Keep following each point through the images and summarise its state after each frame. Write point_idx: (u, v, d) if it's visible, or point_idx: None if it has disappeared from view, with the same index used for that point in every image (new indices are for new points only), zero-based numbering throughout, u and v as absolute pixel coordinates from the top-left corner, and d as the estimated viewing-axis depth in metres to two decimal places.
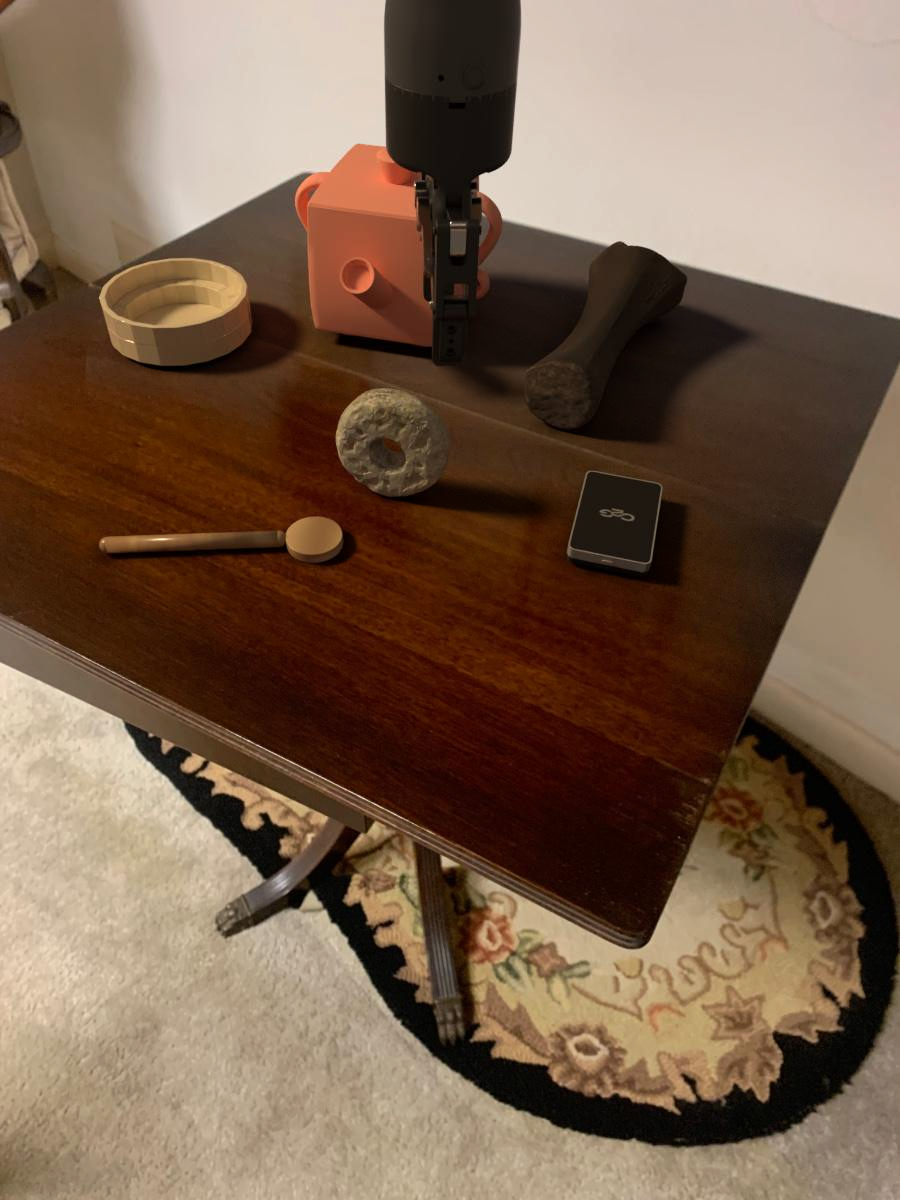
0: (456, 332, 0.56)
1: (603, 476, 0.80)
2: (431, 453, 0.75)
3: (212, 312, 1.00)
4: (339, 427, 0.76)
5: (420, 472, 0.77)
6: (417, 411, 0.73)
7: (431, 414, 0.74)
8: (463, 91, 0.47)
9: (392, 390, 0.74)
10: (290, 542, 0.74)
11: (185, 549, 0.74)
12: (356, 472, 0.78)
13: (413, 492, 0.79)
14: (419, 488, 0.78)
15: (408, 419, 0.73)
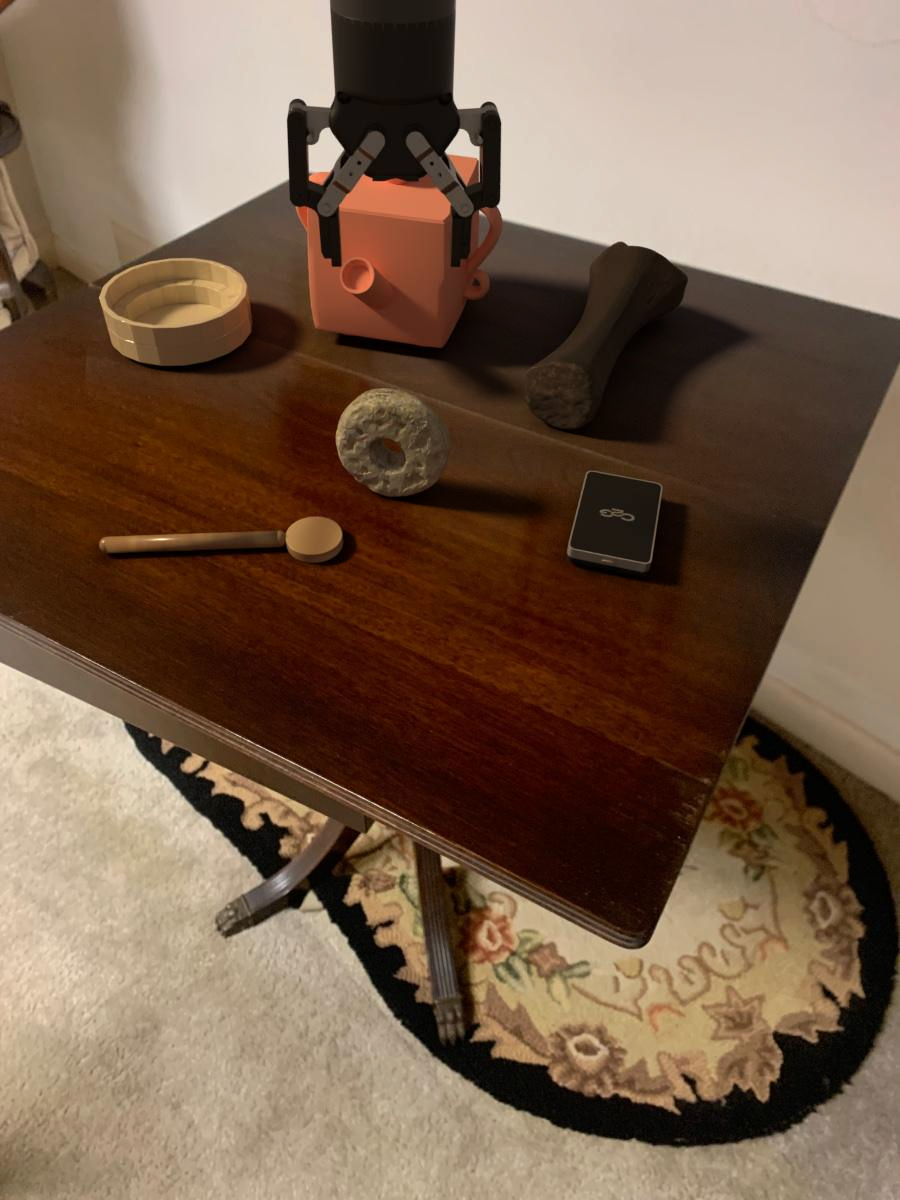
0: None
1: (603, 476, 0.80)
2: (431, 453, 0.75)
3: (212, 312, 1.00)
4: (339, 427, 0.76)
5: (420, 472, 0.77)
6: (417, 411, 0.73)
7: (431, 414, 0.74)
8: None
9: (392, 390, 0.74)
10: (290, 542, 0.74)
11: (185, 549, 0.74)
12: (356, 472, 0.78)
13: (413, 492, 0.79)
14: (419, 488, 0.78)
15: (408, 419, 0.73)
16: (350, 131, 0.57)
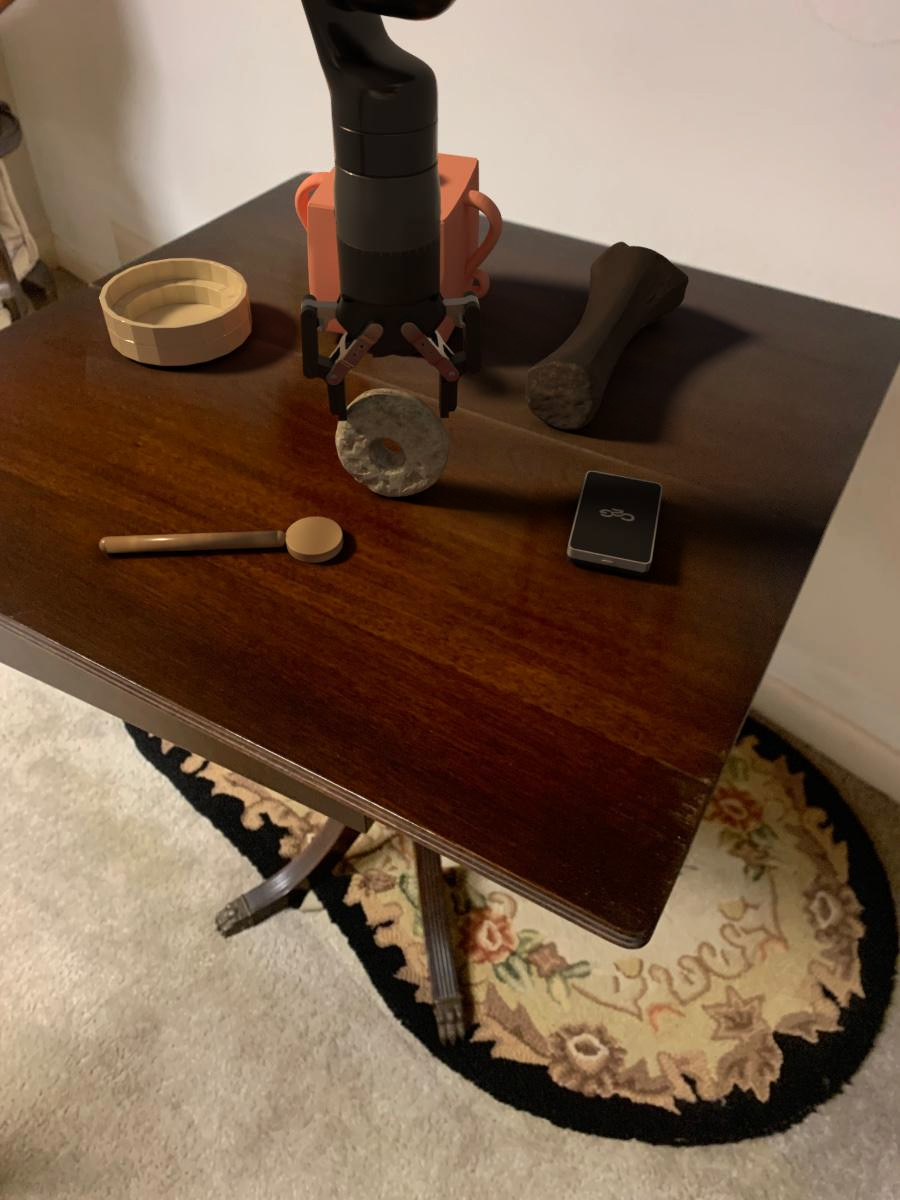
0: None
1: (603, 476, 0.80)
2: (430, 452, 0.75)
3: (212, 312, 1.00)
4: (338, 427, 0.76)
5: (419, 471, 0.77)
6: (416, 411, 0.73)
7: (430, 414, 0.74)
8: None
9: (391, 390, 0.74)
10: (290, 542, 0.74)
11: (185, 549, 0.74)
12: (356, 472, 0.79)
13: (413, 492, 0.79)
14: (419, 488, 0.78)
15: (407, 419, 0.73)
16: (354, 322, 0.67)
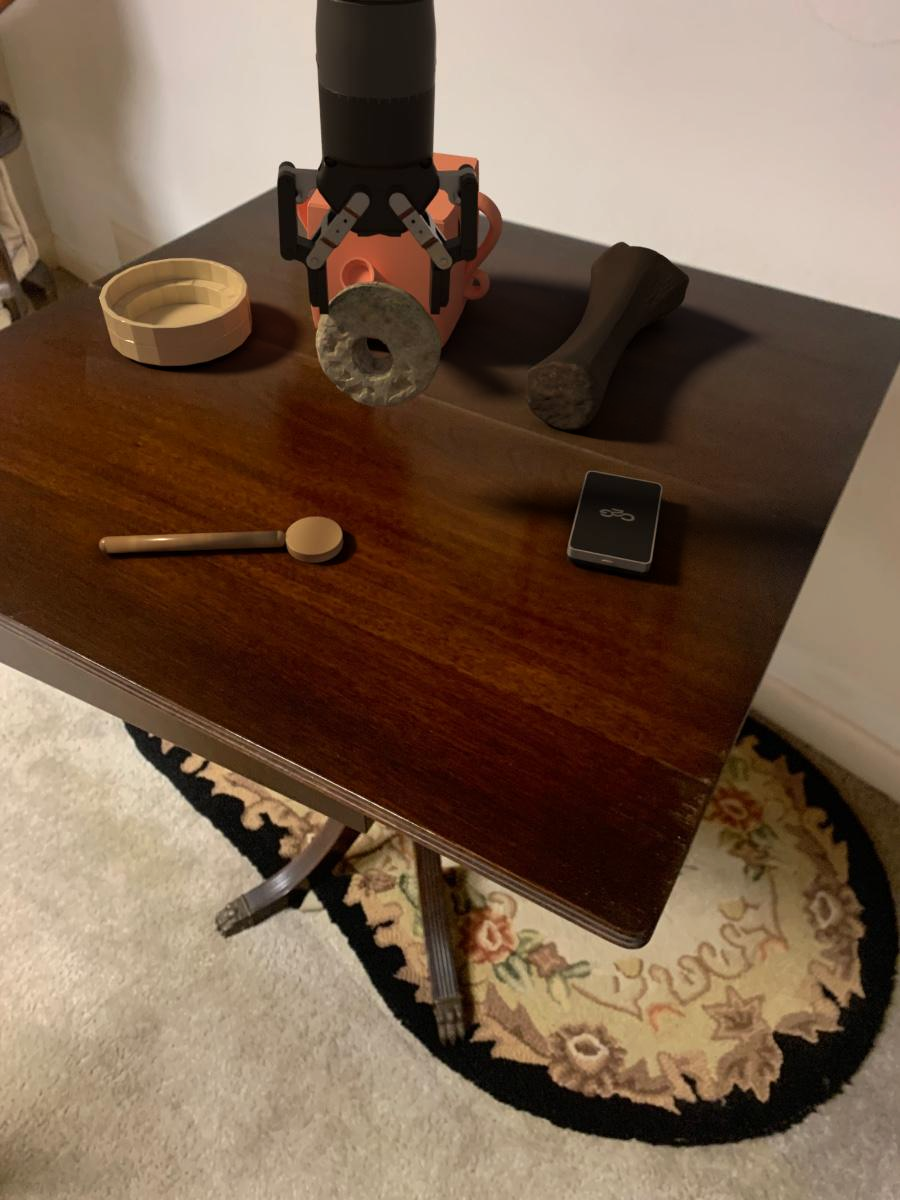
0: None
1: (603, 476, 0.80)
2: (420, 353, 0.68)
3: (212, 312, 1.00)
4: (319, 326, 0.69)
5: (407, 376, 0.70)
6: (404, 304, 0.66)
7: (420, 309, 0.67)
8: None
9: (377, 283, 0.68)
10: (290, 542, 0.74)
11: (185, 549, 0.74)
12: (338, 379, 0.72)
13: (400, 401, 0.72)
14: (407, 396, 0.71)
15: (394, 313, 0.66)
16: (336, 192, 0.60)
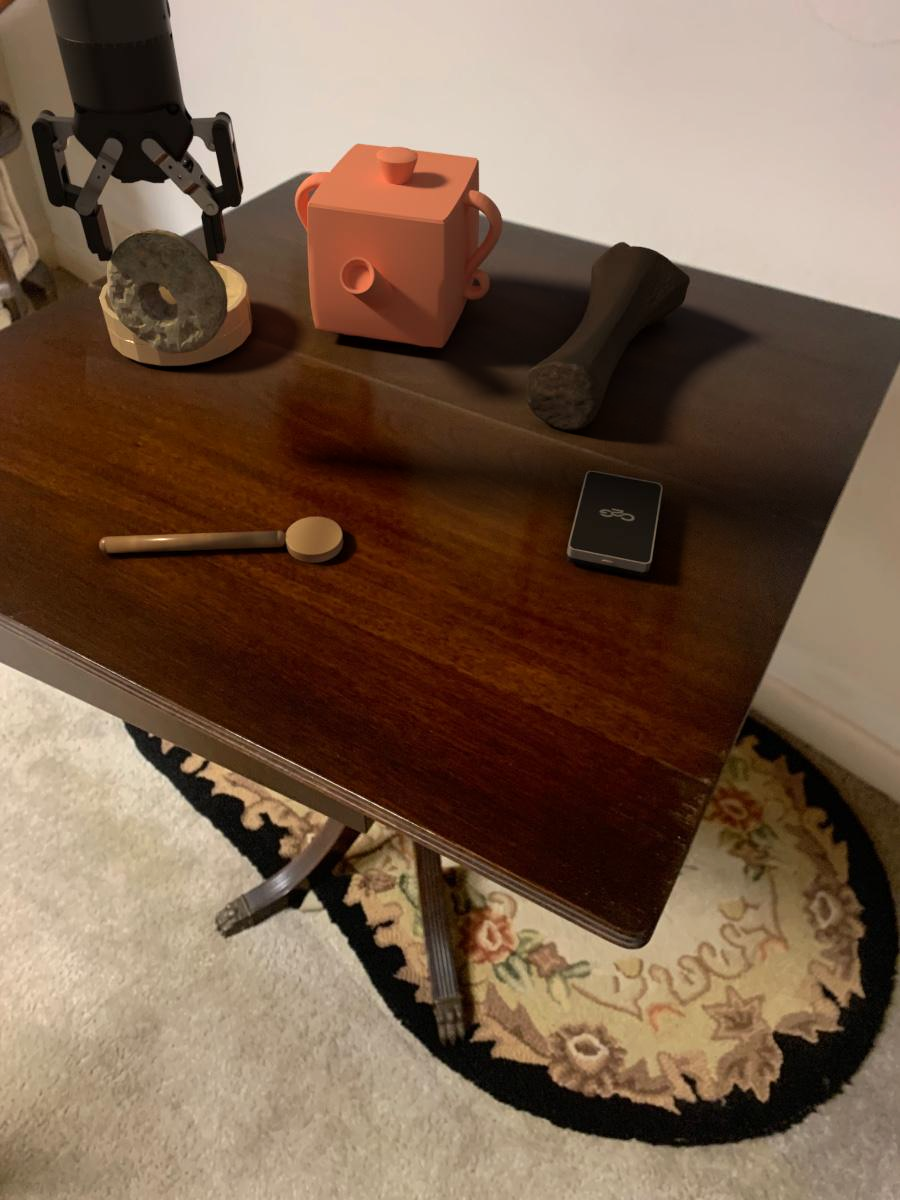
0: (222, 220, 0.70)
1: (603, 476, 0.80)
2: (199, 297, 0.71)
3: None
4: (107, 273, 0.72)
5: (193, 321, 0.73)
6: (179, 249, 0.69)
7: (197, 255, 0.70)
8: None
9: (157, 230, 0.70)
10: (290, 542, 0.74)
11: (185, 549, 0.74)
12: (132, 325, 0.74)
13: (192, 347, 0.75)
14: (196, 341, 0.74)
15: (169, 258, 0.69)
16: (92, 138, 0.63)
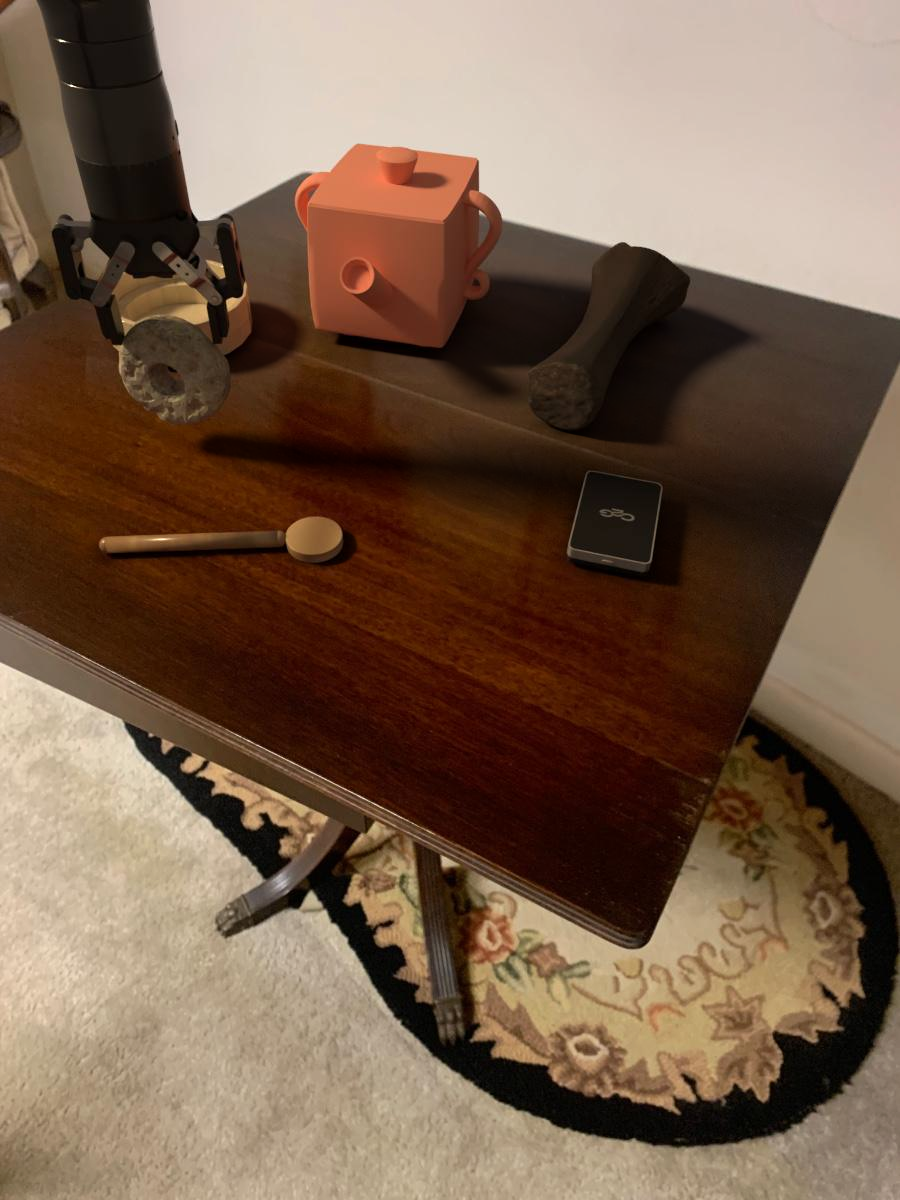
0: (225, 307, 0.75)
1: (603, 476, 0.80)
2: (205, 377, 0.77)
3: None
4: (119, 354, 0.78)
5: (199, 398, 0.78)
6: (186, 335, 0.75)
7: (202, 339, 0.76)
8: (178, 140, 0.65)
9: (165, 316, 0.76)
10: (290, 542, 0.74)
11: (185, 549, 0.74)
12: (142, 400, 0.80)
13: (198, 420, 0.80)
14: (202, 415, 0.80)
15: (177, 343, 0.75)
16: (106, 241, 0.69)
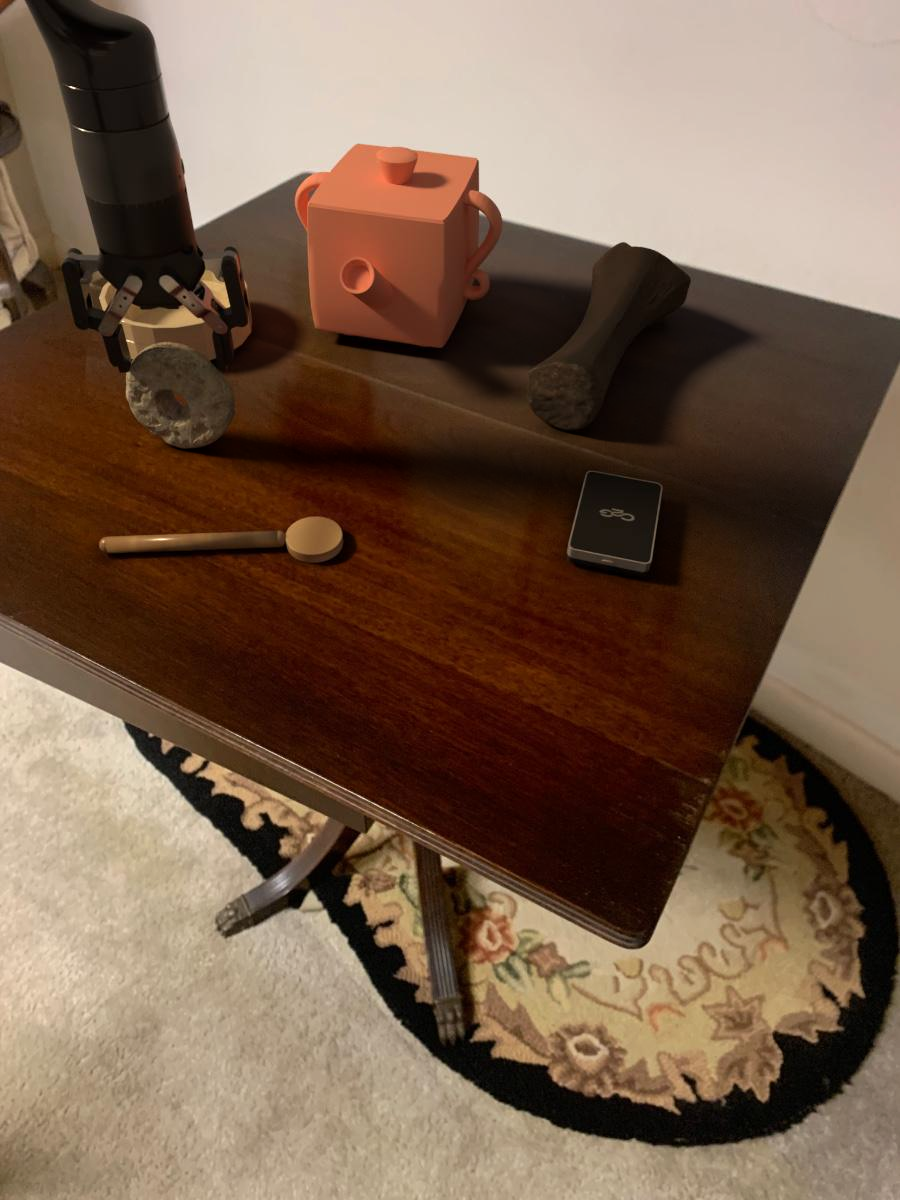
0: (230, 335, 0.77)
1: (603, 476, 0.80)
2: (210, 403, 0.79)
3: None
4: (126, 380, 0.80)
5: (204, 422, 0.80)
6: (191, 363, 0.77)
7: (207, 366, 0.78)
8: (184, 178, 0.68)
9: (171, 343, 0.78)
10: (290, 542, 0.74)
11: (185, 549, 0.74)
12: (148, 424, 0.82)
13: (203, 443, 0.82)
14: (207, 439, 0.82)
15: (183, 370, 0.77)
16: (115, 274, 0.71)
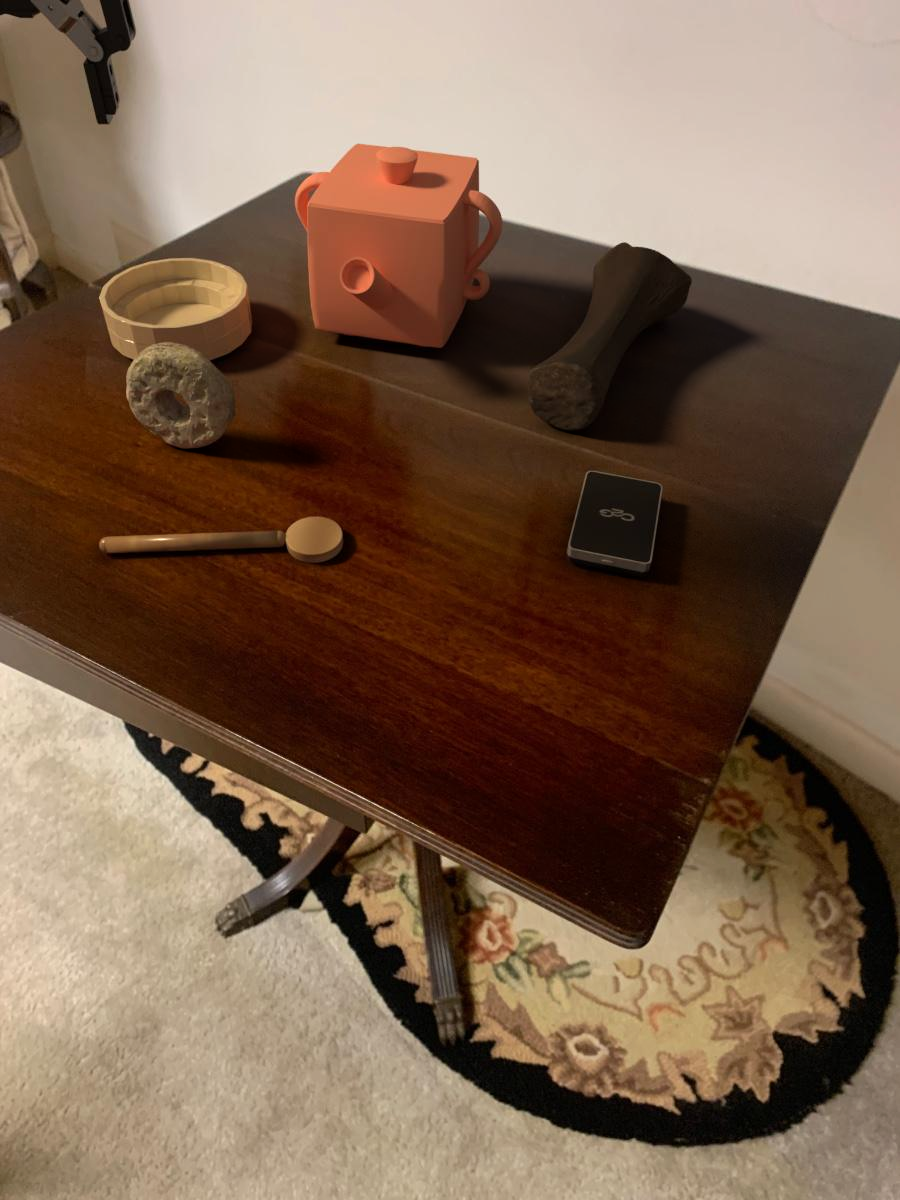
0: (111, 72, 0.58)
1: (603, 476, 0.80)
2: (210, 404, 0.79)
3: (212, 312, 1.00)
4: (126, 380, 0.80)
5: (204, 423, 0.80)
6: (192, 363, 0.77)
7: (208, 366, 0.78)
8: None
9: (172, 344, 0.78)
10: (290, 542, 0.74)
11: (185, 549, 0.74)
12: (148, 424, 0.82)
13: (203, 443, 0.82)
14: (207, 439, 0.82)
15: (183, 371, 0.77)
16: None
